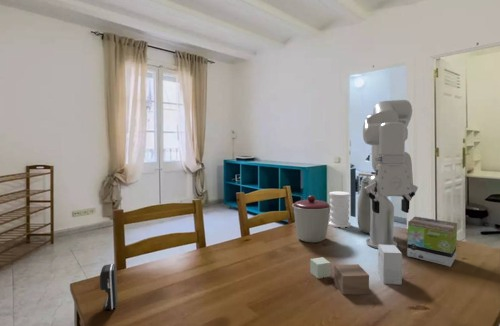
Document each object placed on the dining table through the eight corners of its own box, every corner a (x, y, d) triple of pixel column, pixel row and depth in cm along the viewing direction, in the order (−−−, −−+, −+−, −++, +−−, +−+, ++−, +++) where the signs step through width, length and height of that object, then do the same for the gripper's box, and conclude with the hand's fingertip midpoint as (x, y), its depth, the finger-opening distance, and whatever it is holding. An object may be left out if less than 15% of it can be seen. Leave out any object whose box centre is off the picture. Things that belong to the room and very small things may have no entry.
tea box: (406, 257, 117) (407, 220, 116) (413, 250, 124) (414, 215, 123) (451, 267, 106) (453, 227, 105) (456, 259, 114) (457, 221, 113)
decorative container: (347, 229, 155) (348, 195, 153) (326, 226, 160) (326, 193, 159) (352, 223, 164) (352, 192, 163) (331, 221, 170) (331, 190, 169)
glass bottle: (353, 230, 152) (353, 177, 150) (369, 228, 155) (369, 175, 153) (367, 236, 142) (367, 179, 141) (383, 233, 146) (384, 178, 144)
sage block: (310, 272, 104) (310, 259, 104) (322, 270, 106) (322, 257, 106) (317, 278, 100) (317, 264, 99) (330, 276, 101) (330, 262, 101)
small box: (401, 285, 94) (402, 253, 93) (383, 284, 95) (383, 252, 94) (394, 274, 102) (395, 244, 101) (377, 273, 103) (378, 243, 102)
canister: (324, 248, 127) (324, 200, 126) (286, 241, 137) (285, 197, 136) (335, 236, 143) (336, 194, 141) (300, 231, 152) (300, 191, 151)
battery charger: (103, 300, 88) (101, 263, 87) (117, 297, 89) (115, 261, 88) (100, 312, 81) (98, 272, 81) (115, 310, 83) (113, 270, 82)
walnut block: (334, 282, 97) (334, 265, 96) (358, 281, 97) (358, 264, 97) (342, 295, 89) (342, 276, 88) (368, 294, 89) (369, 275, 89)
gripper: (370, 161, 92) (369, 215, 93) (424, 160, 92) (423, 214, 93) (360, 160, 99) (359, 210, 100) (410, 159, 100) (409, 209, 101)
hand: (390, 212), depth 97 cm, fingers open, 9 cm apart
